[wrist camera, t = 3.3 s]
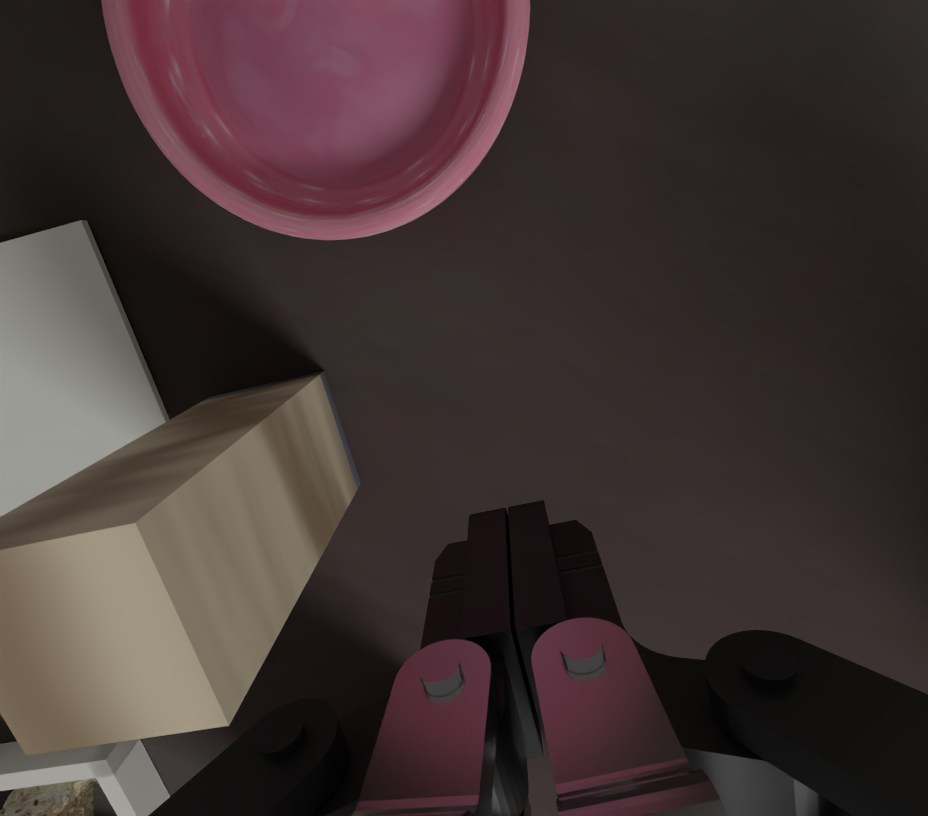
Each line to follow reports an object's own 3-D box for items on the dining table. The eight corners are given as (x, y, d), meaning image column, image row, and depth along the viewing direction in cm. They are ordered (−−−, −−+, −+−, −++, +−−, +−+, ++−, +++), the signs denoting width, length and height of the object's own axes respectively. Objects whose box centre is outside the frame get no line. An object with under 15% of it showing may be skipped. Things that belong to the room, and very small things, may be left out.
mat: (86, 220, 20) (81, 220, 20) (266, 651, 26) (264, 656, 26) (-260, 317, 22) (-270, 318, 22) (-23, 698, 28) (-28, 703, 28)
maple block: (324, 370, 22) (135, 522, 10) (360, 483, 23) (229, 725, 12) (209, 396, 22) (-89, 567, 11) (251, 504, 24) (25, 755, 12)
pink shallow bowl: (441, -278, 16) (427, -397, 13) (575, 157, 19) (590, 143, 16) (88, -74, 18) (6, -136, 15) (264, 289, 21) (225, 298, 18)
